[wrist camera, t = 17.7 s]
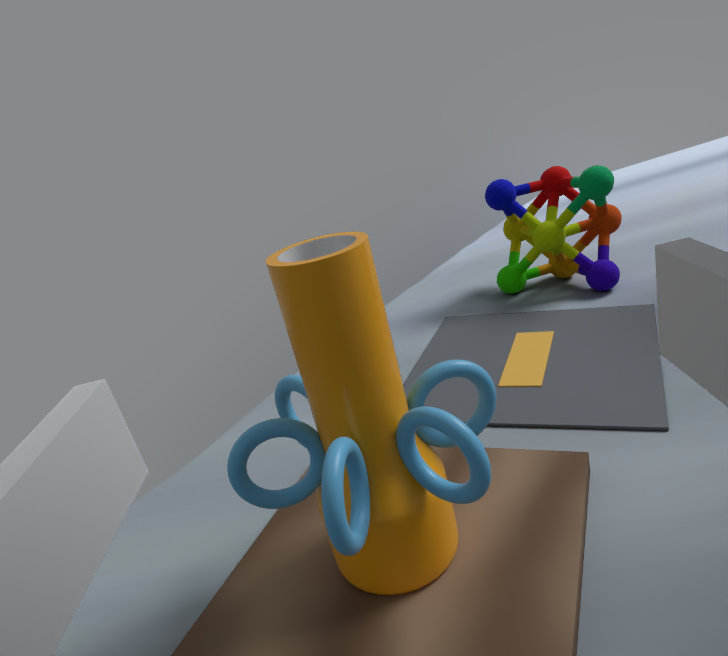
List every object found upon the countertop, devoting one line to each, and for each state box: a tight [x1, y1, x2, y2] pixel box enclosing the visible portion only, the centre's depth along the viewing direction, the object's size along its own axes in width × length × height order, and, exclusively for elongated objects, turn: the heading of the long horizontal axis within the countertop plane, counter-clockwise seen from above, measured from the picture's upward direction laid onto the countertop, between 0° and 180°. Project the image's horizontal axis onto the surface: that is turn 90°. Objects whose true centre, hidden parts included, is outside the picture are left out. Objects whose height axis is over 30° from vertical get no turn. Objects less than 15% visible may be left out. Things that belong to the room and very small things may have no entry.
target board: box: [171, 445, 590, 656], centre depth 27 cm, size 16×16×1 cm
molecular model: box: [485, 165, 622, 294], centre depth 54 cm, size 12×7×12 cm, turn 58°
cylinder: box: [228, 232, 496, 595], centre depth 24 cm, size 12×10×15 cm
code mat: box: [403, 304, 669, 430], centre depth 43 cm, size 18×18×1 cm
